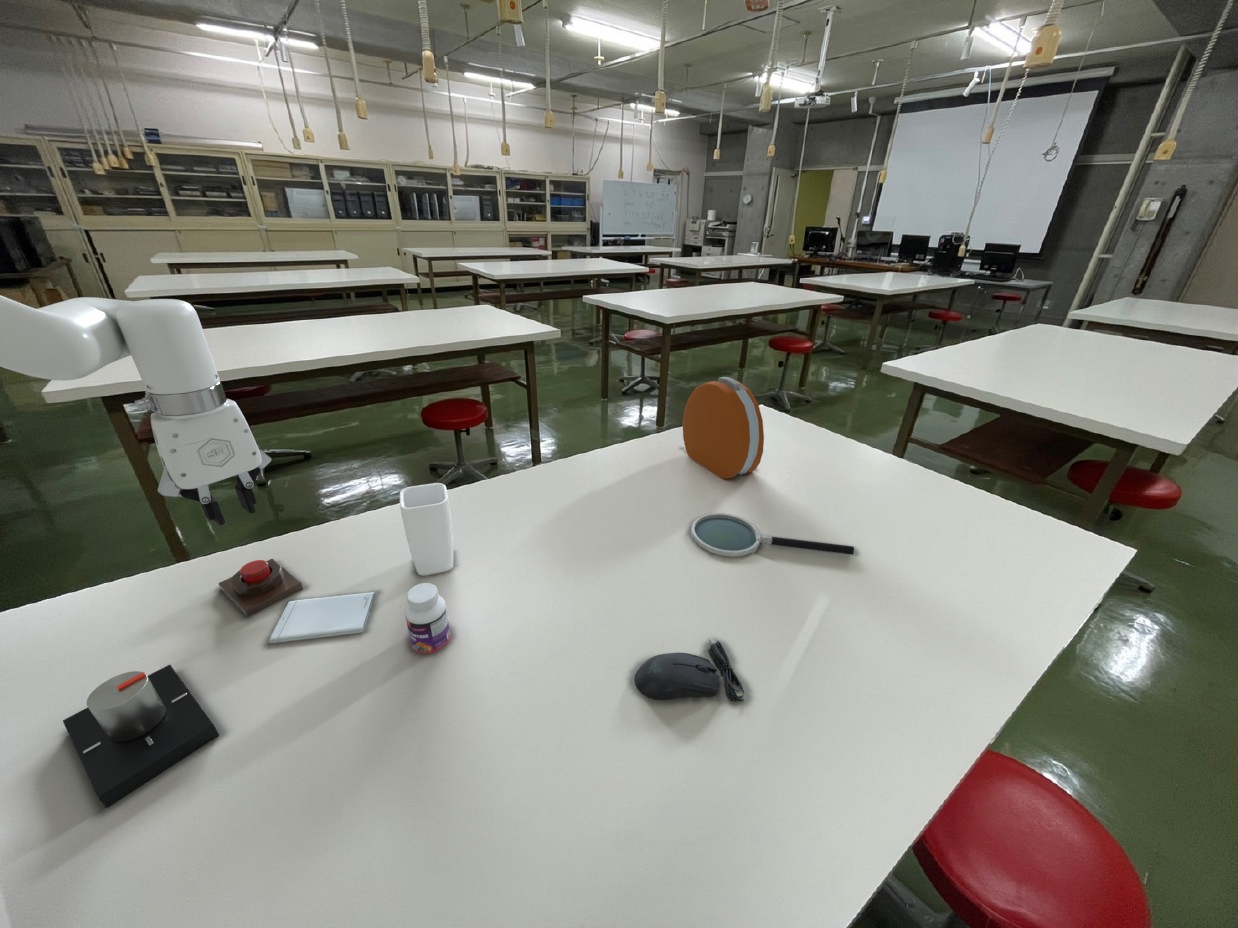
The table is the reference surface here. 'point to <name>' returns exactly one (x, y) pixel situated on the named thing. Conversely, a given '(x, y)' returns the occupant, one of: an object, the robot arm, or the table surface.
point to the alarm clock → (724, 428)
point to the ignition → (260, 589)
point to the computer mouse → (687, 675)
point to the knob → (126, 706)
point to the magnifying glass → (745, 537)
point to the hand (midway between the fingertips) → (233, 514)
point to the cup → (428, 527)
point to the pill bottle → (426, 618)
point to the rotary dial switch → (141, 741)
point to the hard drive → (323, 617)
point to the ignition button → (255, 571)
